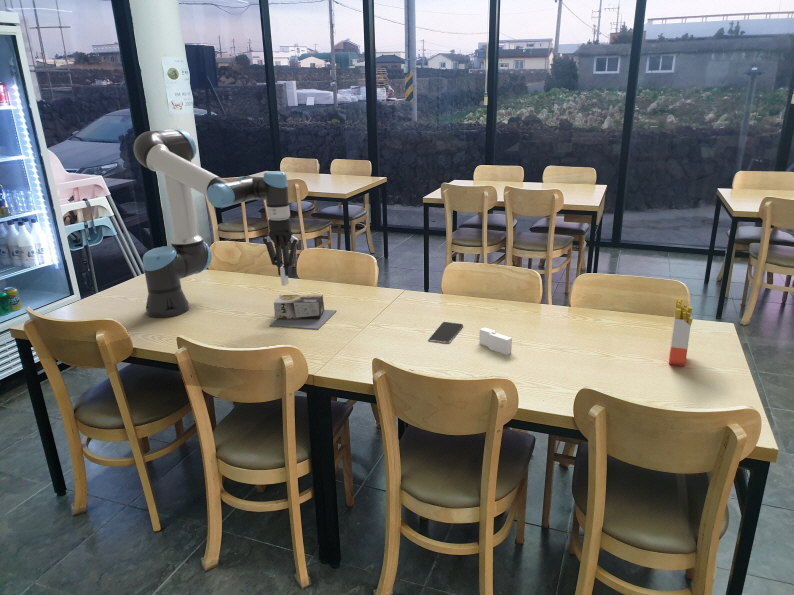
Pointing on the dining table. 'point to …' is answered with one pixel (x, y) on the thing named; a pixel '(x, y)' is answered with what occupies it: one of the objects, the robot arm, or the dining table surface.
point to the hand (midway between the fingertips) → (285, 284)
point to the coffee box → (299, 307)
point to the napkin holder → (495, 341)
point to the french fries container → (680, 334)
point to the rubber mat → (304, 321)
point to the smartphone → (445, 332)
